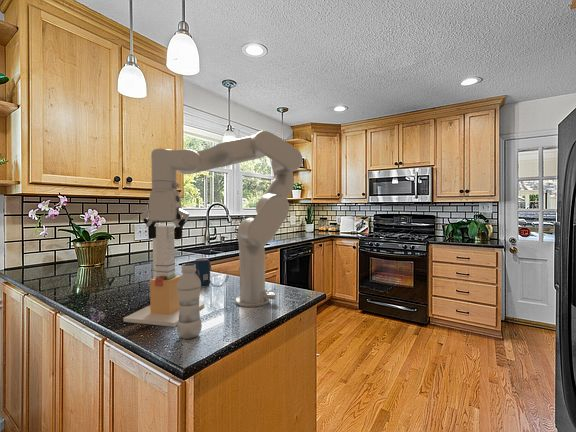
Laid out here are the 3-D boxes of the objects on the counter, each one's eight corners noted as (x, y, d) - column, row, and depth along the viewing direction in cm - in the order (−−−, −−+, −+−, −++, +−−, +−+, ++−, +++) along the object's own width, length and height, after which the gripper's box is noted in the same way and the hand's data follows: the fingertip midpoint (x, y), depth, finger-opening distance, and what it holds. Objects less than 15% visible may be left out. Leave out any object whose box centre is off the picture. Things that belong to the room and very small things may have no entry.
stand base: (204, 306, 108) (203, 270, 107) (174, 326, 90) (173, 283, 89) (160, 303, 112) (159, 268, 111) (123, 321, 94) (122, 280, 93)
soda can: (192, 285, 137) (191, 259, 136) (206, 282, 141) (206, 257, 141) (198, 288, 131) (197, 261, 131) (212, 285, 136) (212, 259, 135)
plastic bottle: (172, 341, 80) (171, 267, 80) (184, 330, 87) (183, 262, 86) (194, 342, 79) (193, 267, 79) (205, 332, 86) (204, 262, 85)
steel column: (175, 290, 102) (174, 225, 101) (168, 294, 98) (166, 226, 97) (164, 289, 103) (163, 225, 102) (156, 293, 99) (155, 226, 98)
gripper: (194, 187, 101) (194, 238, 102) (149, 188, 105) (150, 237, 105) (181, 186, 94) (182, 240, 94) (133, 187, 97) (134, 239, 98)
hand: (165, 238), depth 100 cm, fingers open, 9 cm apart
